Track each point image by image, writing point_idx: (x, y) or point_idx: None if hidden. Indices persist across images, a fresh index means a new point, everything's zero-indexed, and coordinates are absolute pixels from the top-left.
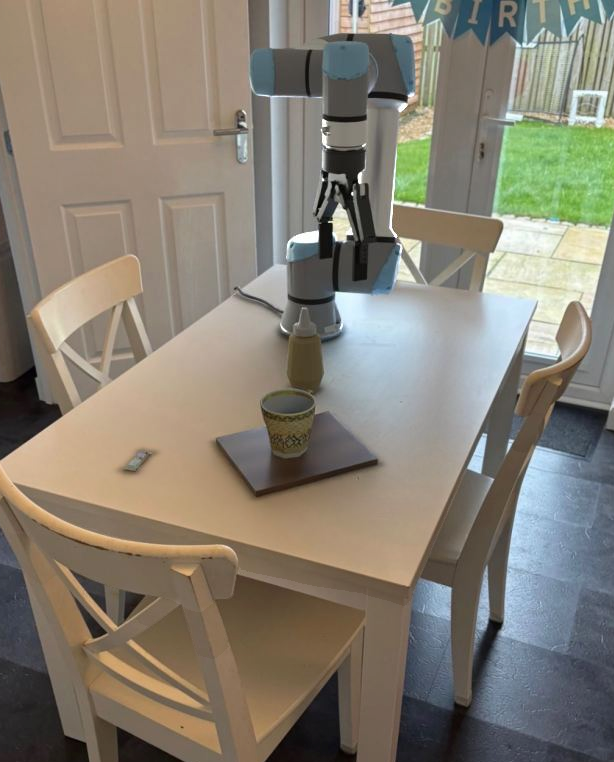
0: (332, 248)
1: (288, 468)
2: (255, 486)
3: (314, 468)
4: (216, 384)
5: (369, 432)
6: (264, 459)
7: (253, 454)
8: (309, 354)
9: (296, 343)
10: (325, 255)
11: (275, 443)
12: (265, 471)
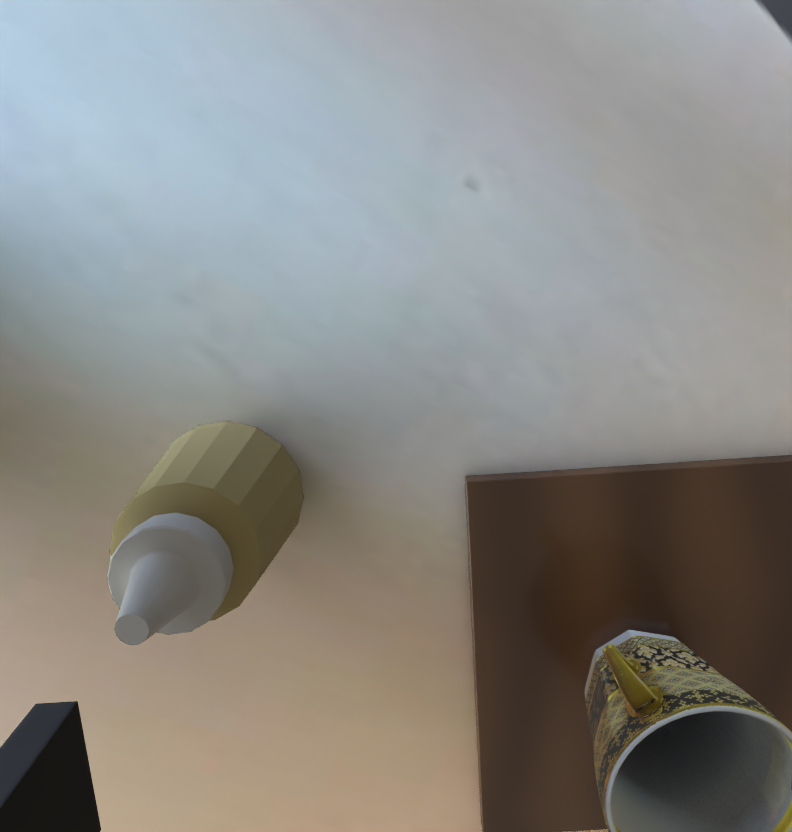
0: (29, 775)
1: None
2: None
3: (770, 649)
4: (113, 728)
5: (621, 393)
6: None
7: None
8: (273, 541)
9: (233, 608)
10: (77, 802)
11: (681, 756)
12: None
